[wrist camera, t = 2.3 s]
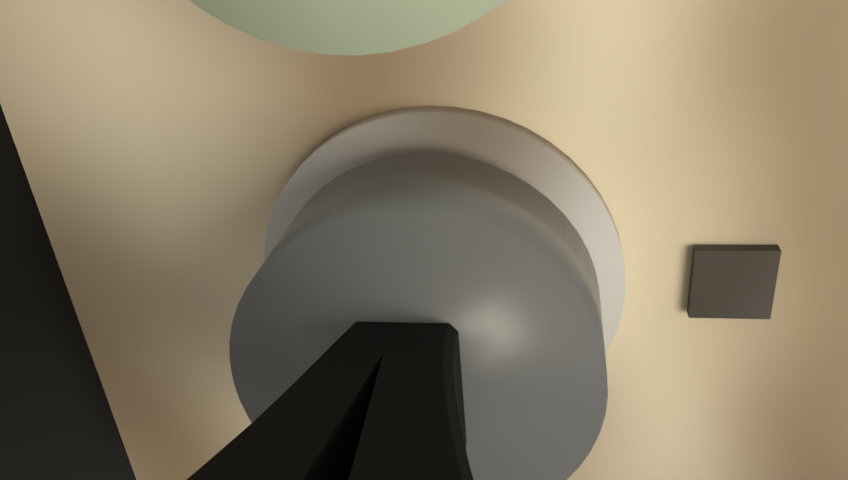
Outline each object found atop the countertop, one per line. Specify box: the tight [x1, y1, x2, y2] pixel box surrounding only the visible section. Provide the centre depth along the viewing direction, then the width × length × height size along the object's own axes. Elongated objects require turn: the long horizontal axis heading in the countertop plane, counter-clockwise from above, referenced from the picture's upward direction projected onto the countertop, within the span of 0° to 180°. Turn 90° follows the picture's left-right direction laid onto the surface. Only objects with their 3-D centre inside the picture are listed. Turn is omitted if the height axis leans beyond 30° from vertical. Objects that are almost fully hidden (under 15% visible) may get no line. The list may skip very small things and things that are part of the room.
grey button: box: [229, 153, 608, 480], centre depth 11 cm, size 5×5×2 cm
